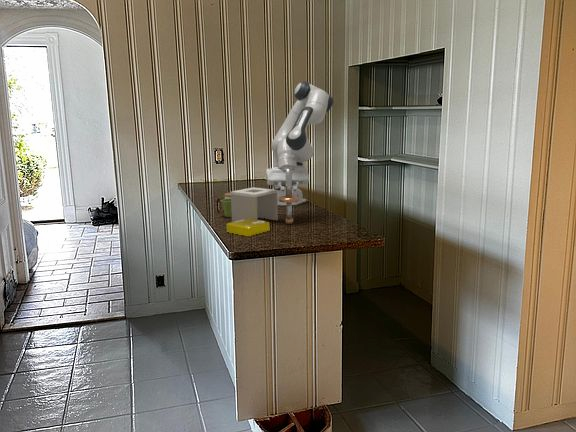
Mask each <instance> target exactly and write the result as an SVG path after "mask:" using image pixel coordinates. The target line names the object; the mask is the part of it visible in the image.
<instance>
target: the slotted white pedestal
mask: <svg viewBox="0 0 576 432" xmlns="http://www.w3.org/2000/svg"><path fill="white" fill-rule="evenodd" d="M272 189H273V188H272ZM272 189H270V188H262V187H247V188H243V189H242V188H241V189H237V190H232V191H230V192H231V211H232V217H231V222H235V221H238V220H243V219H248V218H249V219H255V220H259V219H264V218H265V219H264V220H272V221H278V220H279V218H278V217H279V214H278V211H279V209H278V206H279V205H277V190H272ZM258 218H259V219H258Z"/></svg>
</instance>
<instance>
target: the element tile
mask: <svg viewBox="0 0 576 432" xmlns="http://www.w3.org/2000/svg"><path fill="white" fill-rule="evenodd" d="M225 226H226V233H227V232H229V233H228V234H231V233H234V234H233V235H236V234H238V235H237V236H241V235H244V236H243V237H253V235H254V236H256V234H257V235H261V234H263V232H264V233H267V231H268V232H271V229H270V228H271V226H270V222H269V221H266V220H262V219H258V220H255V219H249V218H248V219H243V220H238V221H235V222H232V221H230V222H228V223H226V225H225ZM260 233H261V234H260Z"/></svg>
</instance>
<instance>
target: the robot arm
mask: <svg viewBox="0 0 576 432" xmlns="http://www.w3.org/2000/svg"><path fill="white" fill-rule="evenodd" d="M293 95H294V97H295V100H296V102H295V103H294V104H293V106H292V107H291V110H290V111H289V112H288V113H287V116H286V118H285V120H284V122H283V123H282V125H281V127H280V128H279V129H278V131H277V133H276V134H275V136H274V137H273V140H272V141H271V144H270V146H271V151H272V152H273V159H272V160H273V163H272V167H269V168H267V169H266V170H265V174H266V177H267V178H266V183H267V185H268V186H272V190H277V205H278V206H287V202H280V201H279V197H281V196H286V177H285V169H292V196H298V197H300V201H298V202H292V206H297V205H300V204H303V203H305V202H307V200H308V199H306V198H305V197H304V198H303V191H302V190H301V189H300V188H299V185H308V184H309V183H310V175H309V171H308V169H307V168H306V164H305V162H307V161H310V160H311V159H312V158H313V155H315V149H314V147H313V146H312V144H311V141H310V140H309V139H308V135H307V132H306V131H307V128H308V126H309V125H318V124H320V123H321V122H323V120H324V118H325V117H326V113H328V112H329V111H330V110H332V107H333V105H334V97H333V96H332V95H330V94H328V93H327V92H326V90H324V89H321V88H320V87H317V86H316V85H312V84H311V83H309V82H307V81H301V82H298V84H297V85H296V87H295V89H294V93H293Z"/></svg>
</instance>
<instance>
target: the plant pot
mask: <svg viewBox="0 0 576 432" xmlns="http://www.w3.org/2000/svg"><path fill="white" fill-rule="evenodd" d="M220 202H221V204H222V208H223V214H224V217H225V218H232V211H231V198H229V199H225V198H224V199H220Z"/></svg>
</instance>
